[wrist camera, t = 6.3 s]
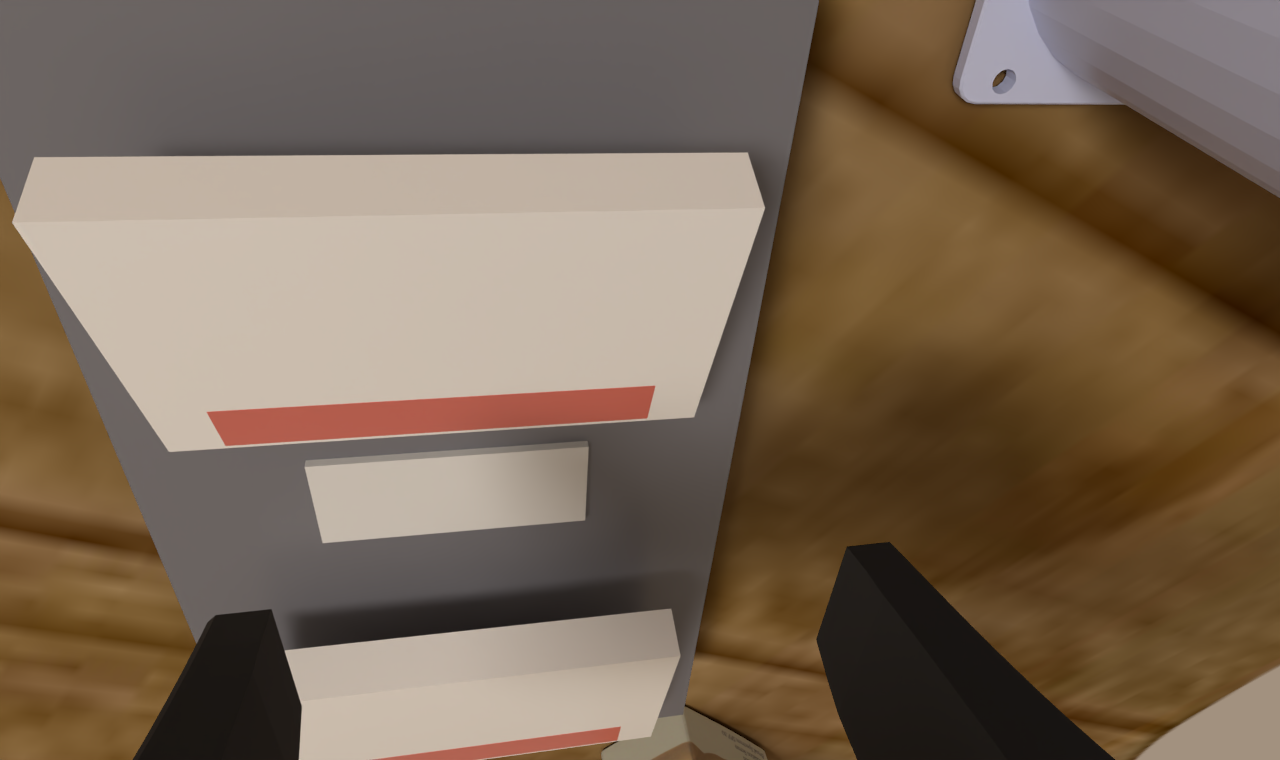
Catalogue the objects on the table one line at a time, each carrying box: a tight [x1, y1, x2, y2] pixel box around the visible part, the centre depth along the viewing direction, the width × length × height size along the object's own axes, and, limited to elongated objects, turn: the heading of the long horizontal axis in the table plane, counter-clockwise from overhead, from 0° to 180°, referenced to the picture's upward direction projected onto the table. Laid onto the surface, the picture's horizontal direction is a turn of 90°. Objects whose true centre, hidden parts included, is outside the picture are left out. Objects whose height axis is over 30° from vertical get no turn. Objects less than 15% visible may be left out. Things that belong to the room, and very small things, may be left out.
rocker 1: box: [12, 152, 765, 452], centre depth 15 cm, size 10×6×1 cm, turn 86°
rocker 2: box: [284, 609, 681, 760], centre depth 22 cm, size 10×6×1 cm, turn 86°
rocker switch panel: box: [0, 0, 819, 718], centre depth 20 cm, size 13×22×3 cm, turn 176°
